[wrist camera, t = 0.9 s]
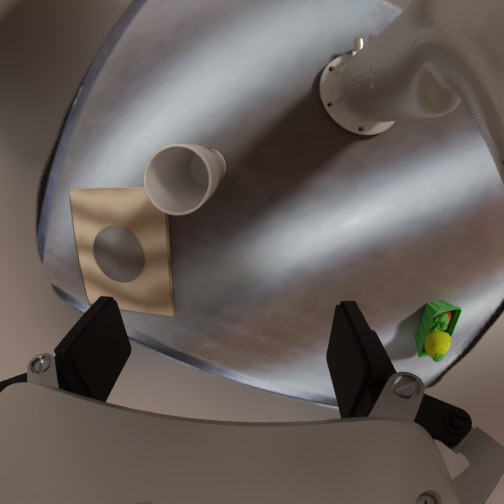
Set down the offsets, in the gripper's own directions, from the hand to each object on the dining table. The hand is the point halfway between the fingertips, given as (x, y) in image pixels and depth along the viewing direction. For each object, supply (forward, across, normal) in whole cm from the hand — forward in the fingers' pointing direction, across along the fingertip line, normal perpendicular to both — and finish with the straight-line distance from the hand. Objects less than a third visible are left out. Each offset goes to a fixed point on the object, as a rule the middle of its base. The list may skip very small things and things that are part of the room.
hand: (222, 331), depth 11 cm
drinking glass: (+30, +6, -5) cm, 31 cm away
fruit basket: (+30, -36, +23) cm, 52 cm away
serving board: (+30, +22, +8) cm, 38 cm away
